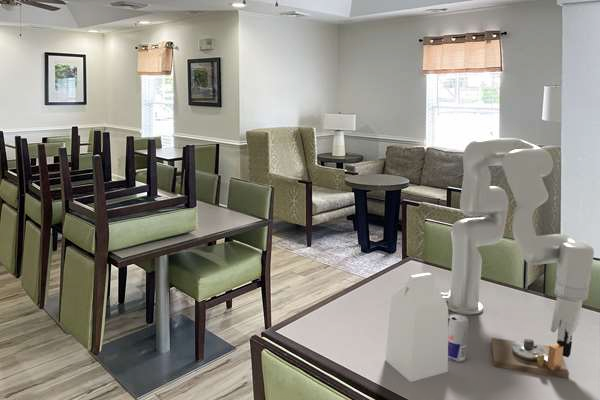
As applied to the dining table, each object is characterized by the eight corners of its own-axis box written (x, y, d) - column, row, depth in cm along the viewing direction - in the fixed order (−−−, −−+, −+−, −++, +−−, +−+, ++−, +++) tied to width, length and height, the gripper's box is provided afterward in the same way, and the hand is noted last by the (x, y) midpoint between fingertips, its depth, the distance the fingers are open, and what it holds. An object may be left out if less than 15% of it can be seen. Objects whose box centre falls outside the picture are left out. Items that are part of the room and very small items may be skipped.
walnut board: (493, 366, 131) (495, 347, 130) (491, 342, 144) (492, 325, 143) (568, 378, 125) (570, 359, 124) (558, 352, 138) (560, 334, 137)
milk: (410, 381, 124) (415, 285, 118) (385, 360, 134) (389, 271, 129) (447, 371, 128) (454, 278, 123) (420, 351, 139) (425, 265, 133)
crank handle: (505, 349, 136) (507, 329, 135) (525, 343, 140) (528, 323, 138) (546, 372, 125) (548, 350, 123) (567, 365, 128) (569, 344, 127)
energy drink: (442, 352, 138) (445, 313, 135) (460, 352, 138) (463, 313, 136) (449, 362, 133) (452, 322, 130) (468, 362, 133) (471, 321, 131)
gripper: (562, 278, 133) (554, 339, 137) (547, 294, 122) (539, 360, 126) (594, 285, 128) (584, 348, 132) (581, 303, 117) (571, 371, 121)
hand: (562, 354), depth 129 cm, fingers closed
